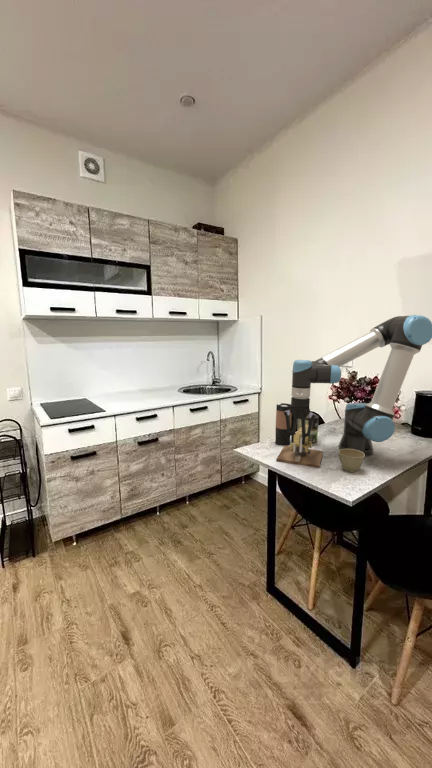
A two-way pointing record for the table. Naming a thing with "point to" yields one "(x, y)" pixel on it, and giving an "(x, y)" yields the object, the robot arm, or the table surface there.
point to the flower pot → (351, 459)
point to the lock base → (304, 460)
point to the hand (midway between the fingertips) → (297, 450)
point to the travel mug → (282, 425)
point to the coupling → (297, 440)
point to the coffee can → (314, 428)
